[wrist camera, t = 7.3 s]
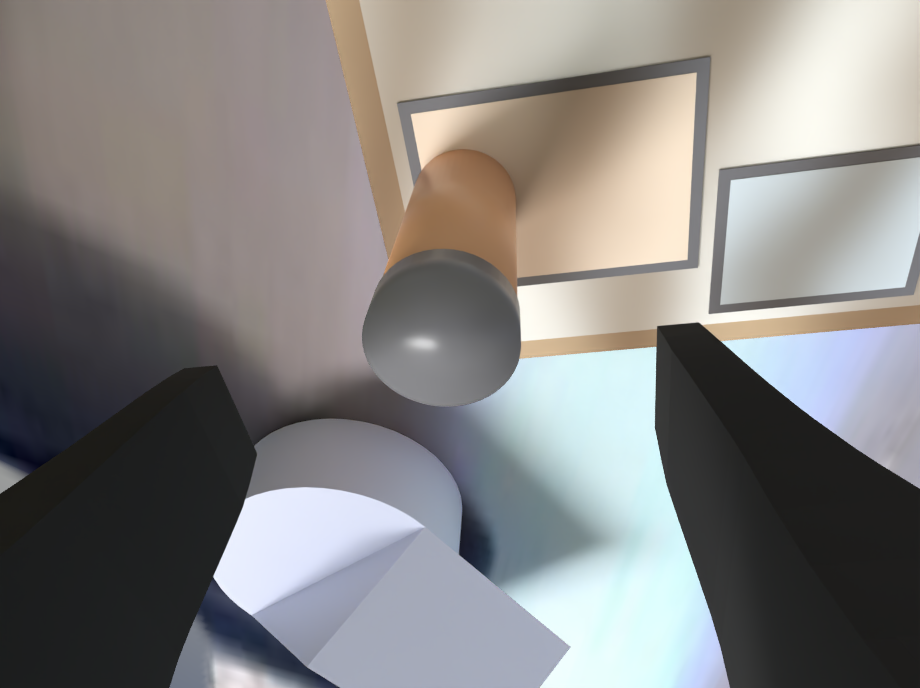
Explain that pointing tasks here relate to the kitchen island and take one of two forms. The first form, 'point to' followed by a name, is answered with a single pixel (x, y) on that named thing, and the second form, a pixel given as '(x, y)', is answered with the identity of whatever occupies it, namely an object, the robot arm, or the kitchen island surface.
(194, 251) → the kitchen island surface
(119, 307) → the kitchen island surface
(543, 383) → the kitchen island surface
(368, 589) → the wedge on round base
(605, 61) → the cream board
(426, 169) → the marker
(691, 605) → the kitchen island surface
